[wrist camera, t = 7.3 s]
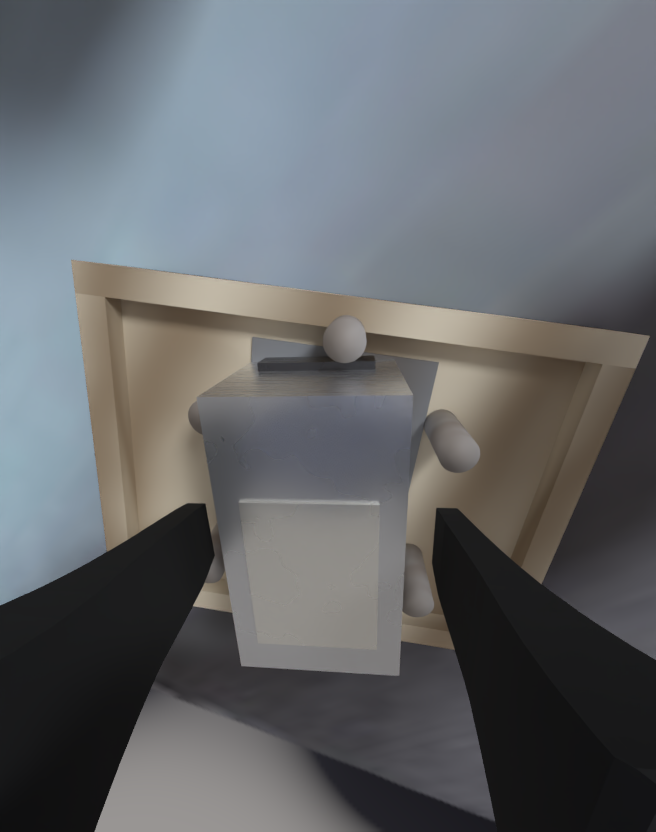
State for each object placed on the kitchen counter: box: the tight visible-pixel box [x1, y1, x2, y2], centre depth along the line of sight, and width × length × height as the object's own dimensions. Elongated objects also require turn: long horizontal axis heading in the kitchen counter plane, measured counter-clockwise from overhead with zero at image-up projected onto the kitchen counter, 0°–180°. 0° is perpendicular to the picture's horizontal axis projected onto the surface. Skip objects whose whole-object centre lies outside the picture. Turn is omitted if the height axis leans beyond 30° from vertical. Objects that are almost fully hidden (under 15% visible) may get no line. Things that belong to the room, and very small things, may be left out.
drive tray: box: [71, 260, 650, 650], centre depth 13 cm, size 18×14×4 cm
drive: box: [196, 355, 413, 676], centre depth 11 cm, size 5×9×5 cm, turn 2°
